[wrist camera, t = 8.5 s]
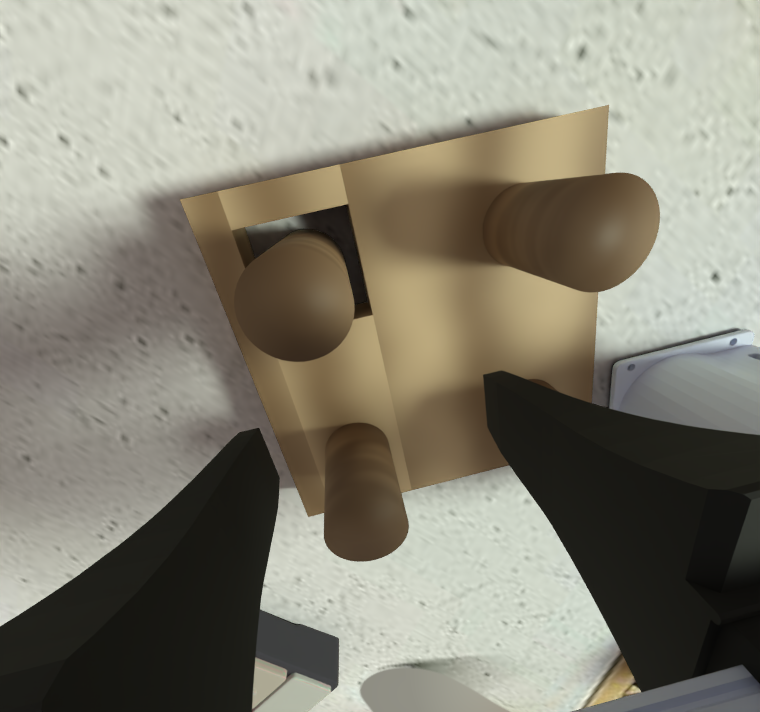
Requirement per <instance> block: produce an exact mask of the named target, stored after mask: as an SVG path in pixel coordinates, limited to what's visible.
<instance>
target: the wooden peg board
mask: <svg viewBox="0 0 760 712" xmlns="http://www.w3.org/2000/svg"><path fill="white" fill-rule="evenodd" d="M608 112H609V105H607V106H602V107H598V108H593V109H589V110H584V111H580V112H575V113H570V114H566V115H561V116H557V117H552V118H548V119H543V120H539V121H534V122H530V123H525V124H521V125H516V126H511V127H507V128H502V129H498V130H493V131H489V132H484V133H480V134H475V135H471V136H466V137H462V138H457V139H452V140H448V141H443V142H439V143H434V144H430V145H425V146H421V147H416V148H412V149H407V150H403V151H398V152H394V153H389V154H384V155H380V156H375V157H371V158H366V159H362V160H357V161H353V162H348V163H344V164H339V165H335V166H330V167H325V168H321V169H316V170H312V171H307V172H303V173H298V174H294V175H289V176H285V177H280V178H276V179H271V180H266V181H262V182H257V183H253V184H248V185H244V186H239V187H235V188H230V189H226V190H221V191H217V192H212V193H208V194H203V195H198V196H194V197H189V198H185V199H180V201H181V203H182V206H183V208H184V211H185V213H186V216H187V218H188V221H189V223H190V226H191V228H192V230H193V233H194V235H195V238H196V240H197V243H198V245H199V248H200V250H201V253H202V255H203V258H204V260H205V263H206V265H207V268H208V270H209V273H210V275H211V277H212V280H213V282H214V285H215V287H216V290H217V292H218V295H219V297H220V300H221V302H222V305H223V307H224V310H225V312H226V315H227V317H228V319H229V322H230V324H231V327H232V329H233V332H234V334H235V337H236V339H237V342H238V344H239V347H240V349H241V352H242V354H243V357H244V359H245V362H246V364H247V366H248V369H249V371H250V374H251V376H252V379H253V381H254V384H255V386H256V389H257V391H258V394H259V396H260V399H261V401H262V404H263V406H264V408H265V411H266V413H267V416H268V418H269V421H270V423H271V426H272V428H273V431H274V433H275V436H276V438H277V441H278V443H279V446H280V448H281V451H282V453H283V455H284V458H285V460H286V463H287V465H288V468H289V470H290V473H291V475H292V478H293V480H294V483H295V485H296V488H297V490H298V493H299V495H300V497H301V500H302V502H303V505H304V507H305V510H306V512H307V515H308V517H310V516H314V515H318V514H321V513H324V539H325V543H326V545H327V547H328V548H329V549H330V550H331V551H332V552H333V553H334V554H335V555H337V556H339V557H341V558H343V559H346V560H350V561H371V560H376V559H379V558H382V557H384V556H386V555H388V554H390V553H392V552H393V551H395V550H396V549H397V548H398V547H399V546H400V545H401V544H402V543H403V541H404V540H405V538H406V536H407V533H408V529H409V524H408V519H407V515H406V511H405V507H404V503H403V498H402V494H401V493H403V492H407V491H411V490H414V489H418V488H422V487H426V486H430V485H434V484H438V483H442V482H445V481H449V480H453V479H457V478H461V477H465V476H469V475H473V474H477V473H480V472H484V471H488V470H492V469H496V468H500V467H504V466H508V465H509V464H508V462H507V461H506V459H505V458H504V457H503V455H502V454H501V452H500V450H499V448H498V447H497V445H496V443H495V441H494V439H493V437H492V435H491V433H490V431H489V429H488V427H487V417H486V405H485V393H484V381H483V375H484V374H488V373H492V372H496V371H501V370H502V371H506V372H509V373H511V374H514V375H517V376H519V377H522V378H524V379H527V380H529V381H532V382H534V383H537V384H539V385H542V386H544V387H547V388H550V389H552V390H555V391H557V392H560V393H563V394H566V395H568V396H571V397H574V398H577V399H580V400H583V401H586V402H589V403H592V389H593V372H594V354H595V337H596V320H597V302H598V292H600V291H605V290H608V289H611V288H613V287H615V286H617V285H619V284H620V283H622V282H624V281H625V280H626V279H628V278H629V277H630V276H631V275H632V274H634V273H635V272H636V270H637V269H638V268H639V267H640V266H641V265H642V263H643V262H644V261H645V259H646V258H647V256H648V255H649V253H650V251H651V249H652V247H653V245H654V242H655V240H656V237H657V233H658V229H659V222H660V210H659V204H658V200H657V197H656V195H655V193H654V191H653V189H652V188H651V187H650V185H649V184H648V183H647V182H646V181H644V180H643V179H642V178H640V177H638V176H636V175H633V174H629V173H610V174H605V164H606V147H607V129H608ZM342 205H346V207H347V211H348V216H349V220H350V225H351V229H352V234H353V238H354V243H355V247H356V251H357V256H358V260H359V265H360V269H361V274H362V278H363V283H364V287H365V292H366V296H367V300H368V302H365V303H361V304H356V305H354V318H353V322H352V326H351V328H350V331H349V332H348V334H347V336H346V338H345V339H344V340H343V342H342V343H341V344H340V345H339V346H338V347H337V348H336V349H334V350H333V351H332V352H330V353H329V354H327V355H325V356H323V357H321V358H318V359H315V360H311V361H305V362H290V361H284V360H280V359H277V358H274V357H272V356H270V355H268V354H266V353H264V352H263V351H261V350H260V349H258V348H257V347H256V346H255V345H254V344H253V343H252V342H250V340H249V339H248V338H247V337H246V336H245V334H244V332H243V331H242V329H241V327H240V325H239V323H238V321H237V317H236V314H235V308H234V295H235V289H236V285H237V283H238V280H239V278H240V276H241V274H242V273H243V271H244V270H245V269H246V267H247V266H248V265H249V264H250V263H251V262H252V261H253V260H255V256H254V253H253V250H252V247H251V244H250V241H249V238H248V235H247V233H246V230H245V227H248V226H253V225H257V224H262V223H266V222H270V221H275V220H279V219H284V218H288V217H293V216H297V215H302V214H306V213H310V212H315V211H319V210H324V209H328V208H333V207H337V206H342Z"/></svg>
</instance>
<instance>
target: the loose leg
mask: <svg viewBox="0 0 760 712" xmlns="http://www.w3.org/2000/svg"><path fill="white" fill-rule="evenodd" d="M234 308H235V314H236V317H237V321H238V323H239V325H240V327H241V329H242V331H243V332H244V334H245V336H246V337H247V338H248V339H249V340H250V342H252V343H253V344H254V345H255V346H256V347H257V348H258V349H260V350H261V351H263V352H264V353H266V354H268V355H270V356H272V357H274V358H277V359H280V360H284V361H290V362H305V361H311V360H315V359H318V358H321V357H323V356H325V355H327V354H329V353H330V352H332V351H333V350H334V349H336V348H337V347H338V346H339V345H340V344H341V343H342V342H343V340H344V339H345V338H346V336H347V334H348V332H349V331H350V328H351V326H352V322H353V318H354V298H353V293H352V289H351V285H350V280H349V276H348V272H347V268H346V264H345V260H344V256H343V253H342V251H341V249H340V247H339V246H338V244H337V243H336V242H335V241H334V240H333V239H332V238H331V237H330V236H328V235H327V234H325V233H323V232H321V231H318V230H314V229H302V230H297V231H294V232H292V233H290V234H289V235H287V236H286V237H284V238H283V239H282V240H280V241H279V242H278V243H276V244H275V245H274V246H272V247H271V248H269V249H268V250H267V251H265V252H264V253H263V254H261V255H260V256H259V257H257V258H256V259H255V260H253V261H252V262H251V263H250V264H249V265H248V266H247V267H246V269H245V270H244V271H243V273H242V274H241V276H240V278H239V280H238V283H237V285H236V289H235V295H234Z"/></svg>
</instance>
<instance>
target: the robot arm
mask: <svg viewBox="0 0 760 712" xmlns="http://www.w3.org/2000/svg"><path fill="white" fill-rule="evenodd" d="M753 340H754V332H753V331H750V330H747V329H745V330H740V331H736V332H732V333H728V334H724V335H720V336H716V337H712V338H708V339H704V340H700V341H696V342H692V343H688V344H684V345H680V346H676V347H672V348H668V349H664V350H660V351H656V352H652V353H648V354H644V355H640V356H636V357H632V358H628V359H624V360H620V361H618V362H616V363H615V364H614V366H613V369H612V380H611V392H610V404H609V408H606V407H602V406H599V405H596V404H592V403H589V402H586V401H583V400H580V399H577V398H574V397H571V396H568V395H566V394H563V393H560V392H557V391H555V390H552V389H550V388H547V387H544V386H542V385H539V384H537V383H534V382H532V381H529V380H527V379H524V378H522V377H519V376H517V375H514V374H511V373H509V372H506V371H502V370H501V371H496V372H492V373H488V374H484V375H483V381H484V393H485V405H486V417H487V427H488V429H489V431H490V433H491V435H492V437H493V439H494V441H495V443H496V445H497V447H498V448H499V450H500V452H501V454H502V455H503V457H504V458H505V459H506V461H507V462H508V464H509V465H510V466H511V468H512V469H513V471H514V472H515V474H516V475H517V476H518V478H519V479H520V480H521V482H522V483H523V485H524V486H525V487H526V489H527V490H528V491H529V493H530V494H531V496H532V497H533V498H534V500H535V501H536V503H537V504H538V505H539V507H540V508H541V509H542V511H543V512H544V514H545V515H546V517H547V518H548V520H549V521H550V523H551V524H552V526H553V528H554V530H555V531H556V533H557V535H558V536H559V538H560V540H561V542H562V543H563V545H564V547H565V548H566V550H567V552H568V554H569V555H570V557H571V559H572V561H573V562H574V564H575V566H576V568H577V570H578V571H579V573H580V575H581V577H582V579H583V580H584V582H585V584H586V586H587V588H588V589H589V591H590V593H591V595H592V597H593V599H594V601H595V602H596V604H597V606H598V608H599V610H600V612H601V614H602V616H603V618H604V620H605V621H606V623H607V625H608V627H609V629H610V631H611V633H612V635H613V637H614V638H615V640H616V642H617V644H618V646H619V648H620V650H621V652H622V654H623V656H624V658H625V660H626V662H627V664H628V666H629V668H630V670H631V672H632V674H633V676H634V678H635V680H636V682H637V684H638V686H639V688H640V690H641V693H637V694H634V695H630V696H627V697H623V698H619V699H616V700H612V701H608V702H605V703H601V704H598V705H594V706H590V707H587V708H583V709H579V710H576V711H572V712H760V347H757V346H754V345H752V344H753ZM629 365H630V366H629ZM628 366H629V367H628ZM279 479H280V478H279V475H278V473H277V470H276V468H275V465H274V463H273V461H272V458H271V456H270V453H269V451H268V448H267V446H266V444H265V441H264V439H263V436H262V434H261V431H260V429H259V428H256V429H252V430H248V431H244V432H240V433H238V434H237V435H236V436H235V437H234V438H233V439H232V440H231V441H230V442H229V443H228V444H227V445H226V446H225V447H224V448H223V449H222V450H221V451H220V452H219V453H218V454H217V455H216V456H215V457H214V458H213V460H212V461H211V462H210V463H209V464H208V465H207V466H206V467H205V468H204V469H203V470H202V471H201V472H200V473H199V474H198V475H197V476H196V477H195V478H194V479H193V480H192V481H191V482H190V483H189V484H188V485H187V486H186V487H185V488H184V489H183V490H182V491H181V492H180V493H179V494H178V495H177V496H175V497H174V498H173V499H172V500H171V501H170V502H169V503H168V504H167V505H166V506H165V507H164V508H163V509H162V510H161V511H159V512H158V513H157V514H156V515H155V516H154V517H153V518H152V519H150V520H149V521H148V522H147V523H146V524H144V525H143V526H142V527H141V528H140V529H138V530H137V531H136V532H135V533H134V534H132V535H131V536H130V537H129V538H128V539H126V540H125V541H124V542H123V543H121V544H120V545H119V546H117V547H116V548H115V549H113V550H112V551H111V552H109V553H108V554H106V555H105V556H104V557H102V558H101V559H100V560H98V561H97V562H96V563H94V564H93V565H92V566H90V567H89V568H88V569H86V570H85V571H84V572H82V573H81V574H80V575H78V576H77V577H75V578H74V579H72V580H71V581H69V582H68V583H67V584H65V585H64V586H62V587H61V588H59V589H58V590H56V591H55V592H53V593H52V594H50V595H49V596H47V597H46V598H44V599H43V600H41V601H40V602H38V603H37V604H35V605H34V606H32V607H30V608H29V609H27V610H26V611H24V612H23V613H21V614H20V615H18V616H16V617H15V618H13V619H12V620H10V621H8V622H7V623H5V624H4V625H2V626H0V712H252V702H253V683H254V670H255V657H256V644H257V633H258V622H259V612H260V602H261V595H262V588H263V582H264V577H265V572H266V567H267V562H268V557H269V552H270V547H271V542H272V537H273V532H274V526H275V521H276V516H277V510H278V499H279Z"/></svg>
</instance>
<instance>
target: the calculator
mask: <svg viewBox="0 0 760 712" xmlns="http://www.w3.org/2000/svg"><path fill="white" fill-rule="evenodd" d="M338 675H339V639H338V638H337V637H335V636H332V635H329V634H326V633H324V632H321V631H318V630H316V629H313V628H310V627H307V626H305V625H302V624H299V625H295V624H292V623H290V622H288V621H285V620H283V619H281V618H278V617H276V616H274V615H271V614H269V613H267V612H264V611H262V610H260V612H259V622H258V633H257V644H256V657H255V670H254V683H253V702H252V712H308V711H309V710H310V709H312V708H313V707H314V706H315V705H316V704H318V703H319V702H320V701H321V700H322V699H324V698H325V697H326V696H327V695H328V694H329V693H330V692H332V691H333V690H334V689H335V688H336V687H337V686H338Z"/></svg>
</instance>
